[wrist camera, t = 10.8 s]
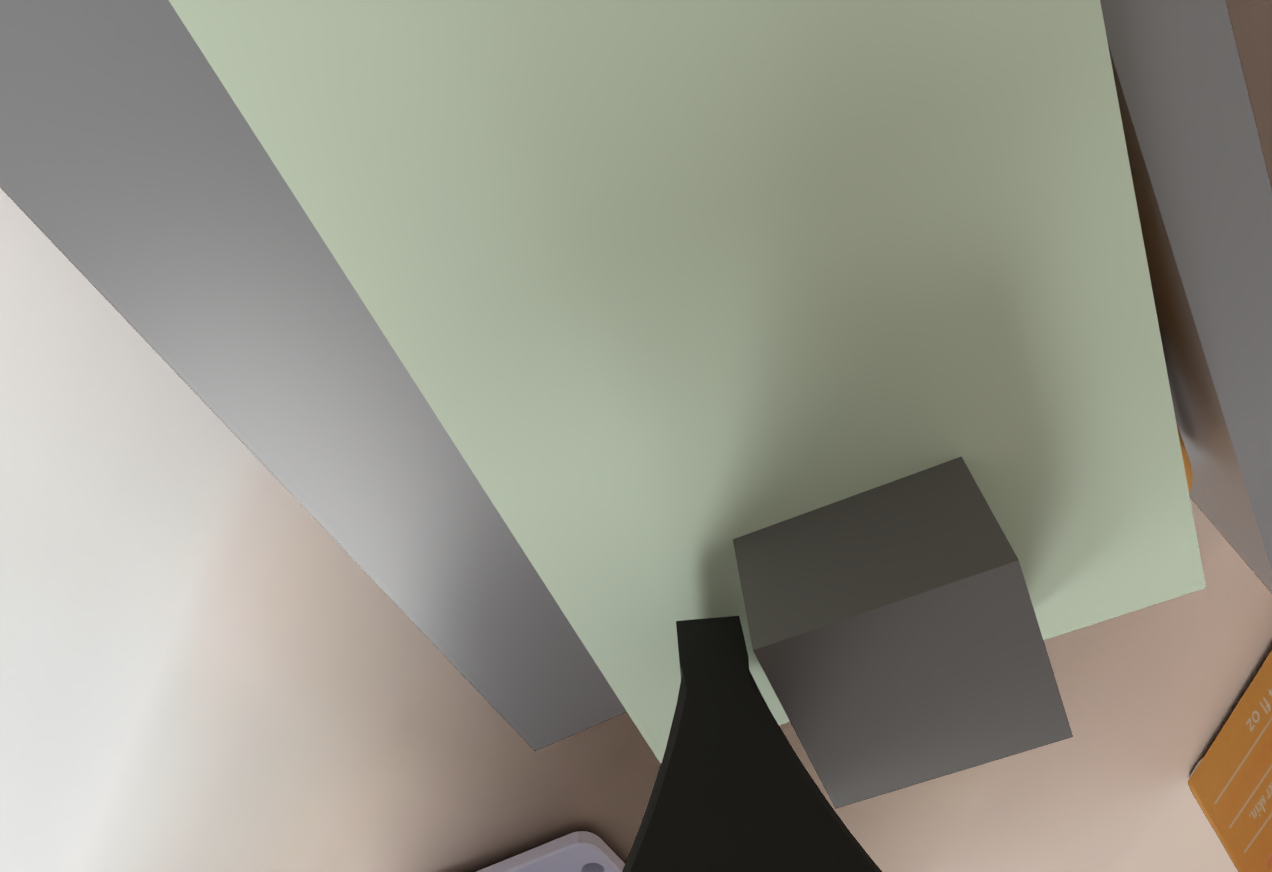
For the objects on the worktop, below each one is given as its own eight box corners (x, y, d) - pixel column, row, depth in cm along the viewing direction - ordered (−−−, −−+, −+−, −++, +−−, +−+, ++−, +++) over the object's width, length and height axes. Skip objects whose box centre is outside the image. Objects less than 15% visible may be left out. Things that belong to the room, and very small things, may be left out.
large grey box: (1235, 426, 18) (1380, 568, 15) (536, 732, 22) (524, 902, 19) (821, -934, 10) (938, -1320, 6) (-208, -65, 13) (-481, -19, 10)
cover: (1180, 554, 14) (1291, 699, 12) (658, 727, 16) (668, 884, 14) (852, -1144, 7) (986, -1649, 4) (-106, -488, 8) (-383, -601, 6)
